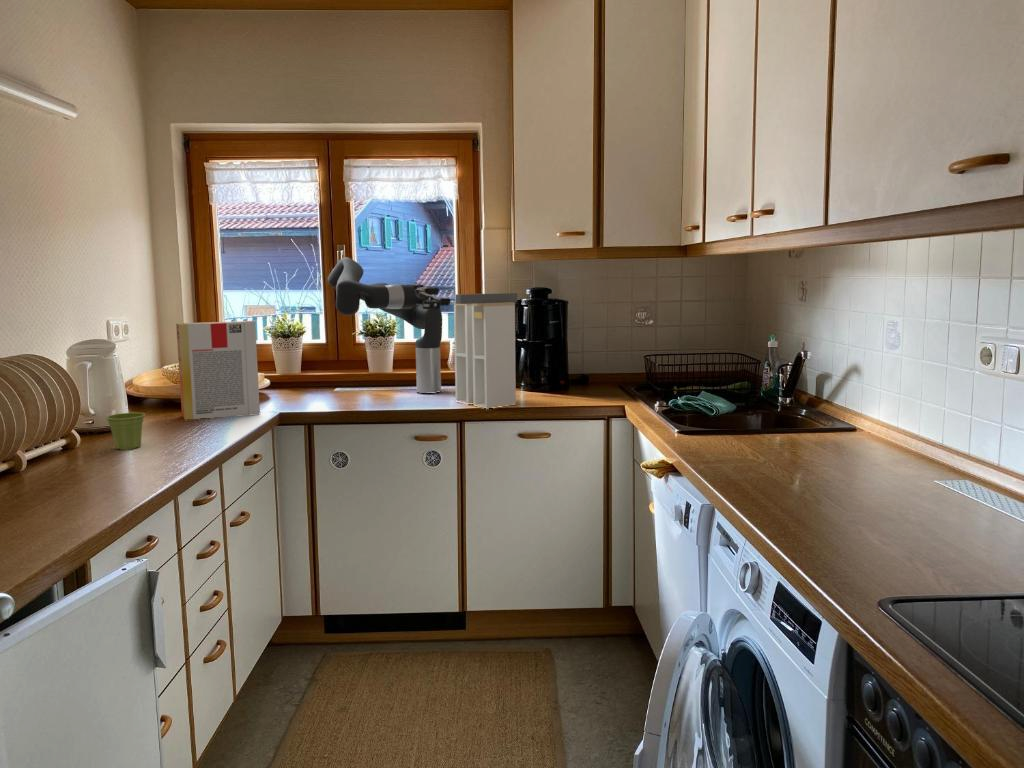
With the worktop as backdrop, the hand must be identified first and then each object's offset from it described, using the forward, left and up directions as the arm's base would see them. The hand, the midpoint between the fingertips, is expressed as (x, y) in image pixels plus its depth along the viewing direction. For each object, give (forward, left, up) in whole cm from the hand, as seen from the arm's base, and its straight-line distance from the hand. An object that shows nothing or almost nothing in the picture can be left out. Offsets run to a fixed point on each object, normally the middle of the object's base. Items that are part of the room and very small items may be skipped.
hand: (443, 296), depth 267 cm
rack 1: (-20, +4, -37) cm, 43 cm away
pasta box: (+23, -69, -38) cm, 82 cm away
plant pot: (+73, -63, -38) cm, 103 cm away
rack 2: (-13, +13, -37) cm, 42 cm away
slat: (-11, +11, -2) cm, 16 cm away
